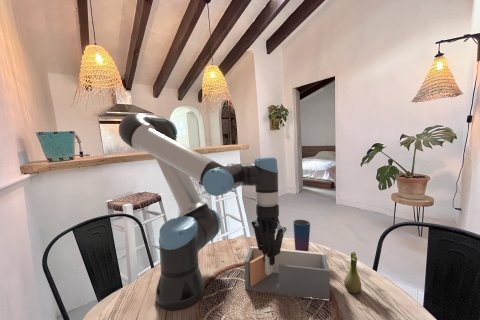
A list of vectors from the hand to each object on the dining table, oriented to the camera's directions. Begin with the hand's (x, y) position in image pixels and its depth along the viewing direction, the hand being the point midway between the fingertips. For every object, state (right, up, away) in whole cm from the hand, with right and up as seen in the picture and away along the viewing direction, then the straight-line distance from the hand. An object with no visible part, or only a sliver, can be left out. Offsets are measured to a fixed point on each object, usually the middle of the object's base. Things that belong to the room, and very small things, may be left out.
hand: (269, 272), depth 72 cm
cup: (+16, -3, +18) cm, 24 cm away
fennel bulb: (+26, -4, -3) cm, 27 cm away
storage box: (+6, -4, +1) cm, 7 cm away
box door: (-3, -3, +1) cm, 5 cm away
